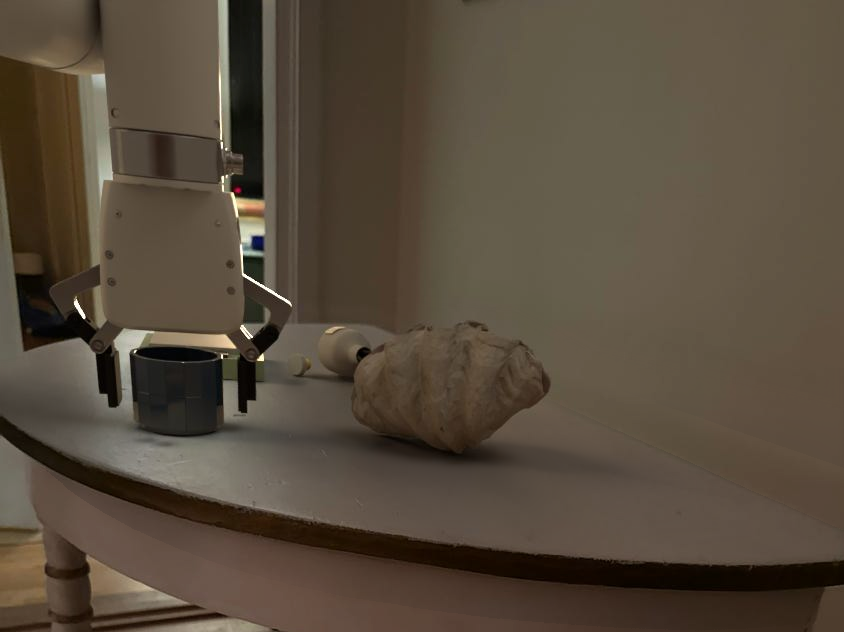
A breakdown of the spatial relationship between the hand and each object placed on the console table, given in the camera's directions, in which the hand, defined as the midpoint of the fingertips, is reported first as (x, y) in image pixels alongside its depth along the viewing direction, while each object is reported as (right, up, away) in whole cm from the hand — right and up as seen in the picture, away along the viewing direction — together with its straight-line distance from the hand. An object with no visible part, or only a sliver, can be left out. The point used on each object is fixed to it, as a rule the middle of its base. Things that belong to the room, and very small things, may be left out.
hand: (180, 406), depth 72 cm
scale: (-5, +10, +22) cm, 25 cm away
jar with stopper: (+13, +6, +19) cm, 23 cm away
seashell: (+21, -3, +3) cm, 21 cm away
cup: (0, -1, +1) cm, 2 cm away
